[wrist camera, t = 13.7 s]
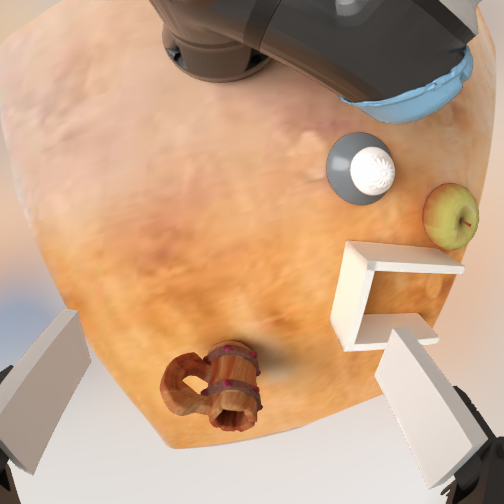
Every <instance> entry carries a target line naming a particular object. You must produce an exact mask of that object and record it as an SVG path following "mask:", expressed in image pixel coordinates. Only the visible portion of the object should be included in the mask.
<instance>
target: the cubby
mask: <svg viewBox="0 0 504 504" xmlns="http://www.w3.org/2000/svg"><path fill="white" fill-rule="evenodd" d="M464 269H465V266H464V265H462V264H461V263H459V262H458V261H456V260H454V259H453V258H451V257H450V256H448V255H447V254H445V253H443V252H442V251H440V250H439V249H437V248H428V247H418V246H407V245H396V244H385V243H374V242H362V241H350V240H346V245H345V250H344V256H343V261H342V266H341V271H340V276H339V281H338V286H337V290H336V295H335V299H334V304H333V308H332V312H331V317H330V323H331V325H332V327H333V329H334V331H335V333H336V335H337V338H338V340H339V342H340V344H341V346H342V348H343V350H344V352H346V351H364V350H379V349H385V348H386V346H387V343H388V340H389V338H390V335H391V332H392V329H393V328H403V327H407V328H408V329H409V330H410V332H411V333H412V334H413V335H414V337H415V338H416V339H417V340H418V342H419V343H420V344H421V345H427V344H436V343H437V342H438V340H439V336H438V335H437V334H436V333H435V331H434V330H433V329H432V328H431V327H430V326H429V325H428V324H427V323H426V322H425V320H424V319H423V318H422V317H421V316H420V315H419V314H418V313H398V314H364V310H365V307H366V303H367V299H368V295H369V292H370V288H371V284H372V280H373V276H374V272H375V271H394V272H418V273H444V274H463V272H464Z"/></svg>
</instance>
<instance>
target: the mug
mask: <svg viewBox="0 0 504 504" xmlns="http://www.w3.org/2000/svg"><path fill="white" fill-rule="evenodd" d="M256 357H257V354H256V353H255V352H252V351H251V350H250V348H248V347H247V346H245V345H244V344H242V343H240V342H236V341H224V342H221V343H218V344H216V345H214V346H212V347H211V348H210V349H209V351H208V355H207V356H205V357H204V358H203V360H202V359H201V358H200V357H199V356H198V355H197V354H196V353H194V352H192V353H187V354H183V355H181V356H179V357H176V358H175V359H173V360H172V361H171V363H170V364H169V365H168V366H167V368H166V370H165V372H164V374H163V377H162V380H161V384H160V392H161V395H162V398H163V400H164V402H165V404H166V406H167V407H168V409H169V410H170V411H171V412H173V413H174V414H176V415H179V416H184V415H188V414H191V413H200V414H205V415H208V416H209V421H210V423H211V424H212V425H213V426H214V427H216V428H217V427H220V428H221V430H223V431H235V430H238V431H240V432H242V431H245V430H247V429H249V428H251V427H253V426H254V424H255V422H257V412H258V411H259V410H261V409H262V408H263V406H262V405H261V400H260V394H259V387H257V383H256V376H259V375H260V373H261V372H260V370H259V367H258V361H257V358H256ZM187 376H197V377H199V378H200V379H202V380H204V381H206V382H207V383H208V387H207V388H206V389H204V390H203V391H201V395H200V394H197V393H196V392H195V391H194V390H193V389H191V388H190V387H189V386H188V385H186V384H185V383H184V382H183V381H182V380H183V379H184V378H186V377H187Z"/></svg>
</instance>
